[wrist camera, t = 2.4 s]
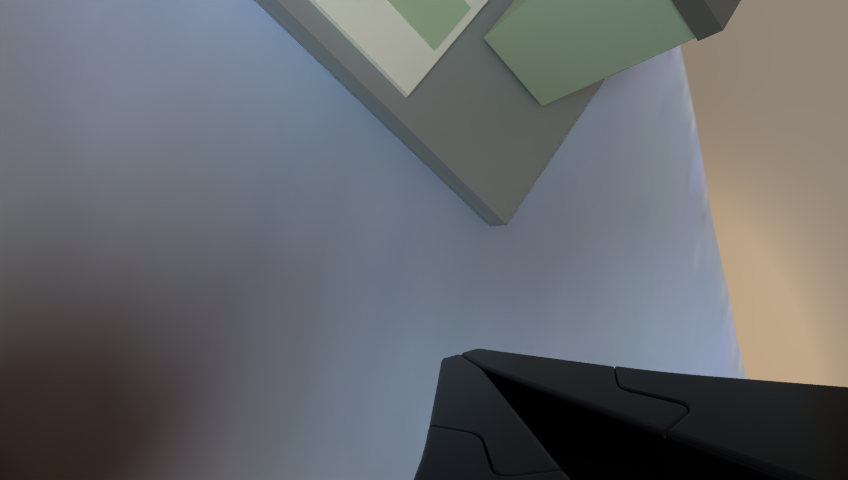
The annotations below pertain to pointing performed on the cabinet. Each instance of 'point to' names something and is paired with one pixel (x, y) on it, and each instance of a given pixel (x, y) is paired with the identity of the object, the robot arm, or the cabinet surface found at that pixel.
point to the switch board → (440, 89)
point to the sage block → (595, 37)
